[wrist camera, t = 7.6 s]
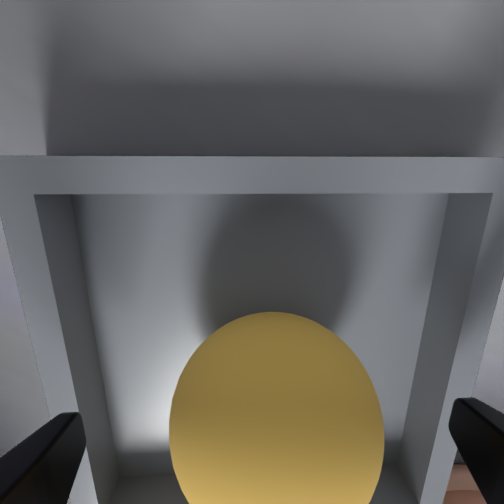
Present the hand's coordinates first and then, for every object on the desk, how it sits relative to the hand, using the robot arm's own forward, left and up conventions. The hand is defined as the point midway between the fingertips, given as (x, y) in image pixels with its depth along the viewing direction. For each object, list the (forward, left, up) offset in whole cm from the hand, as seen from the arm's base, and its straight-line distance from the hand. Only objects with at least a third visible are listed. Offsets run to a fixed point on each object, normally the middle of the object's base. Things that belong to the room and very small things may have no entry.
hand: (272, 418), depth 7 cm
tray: (0, 0, -3) cm, 3 cm away
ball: (0, 0, -3) cm, 3 cm away
